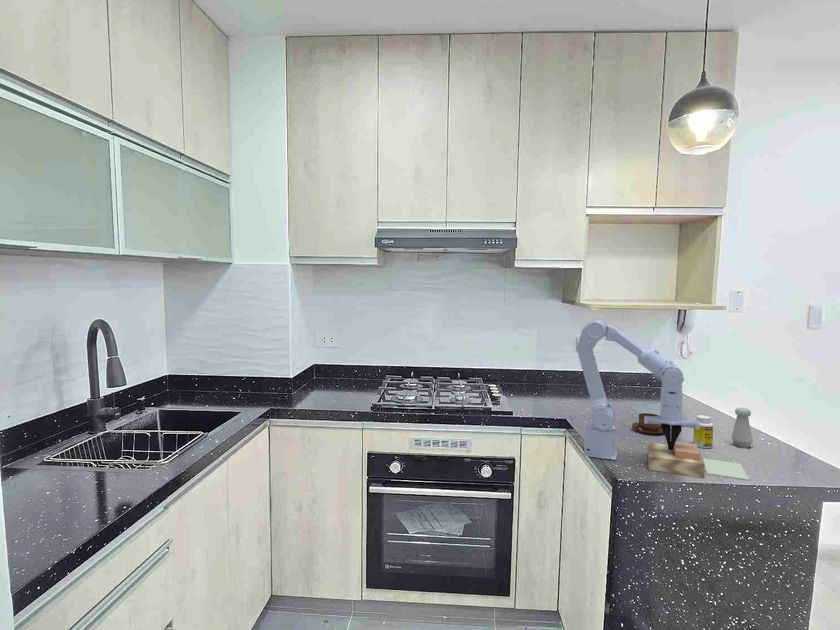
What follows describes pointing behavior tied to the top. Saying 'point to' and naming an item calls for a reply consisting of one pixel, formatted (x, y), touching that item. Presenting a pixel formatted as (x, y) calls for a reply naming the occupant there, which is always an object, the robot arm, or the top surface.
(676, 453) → the terracotta tile
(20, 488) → the top surface
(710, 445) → the supplement bottle
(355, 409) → the top surface
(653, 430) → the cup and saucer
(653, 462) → the oak board
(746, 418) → the salt shaker
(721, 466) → the sage mat
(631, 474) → the top surface
